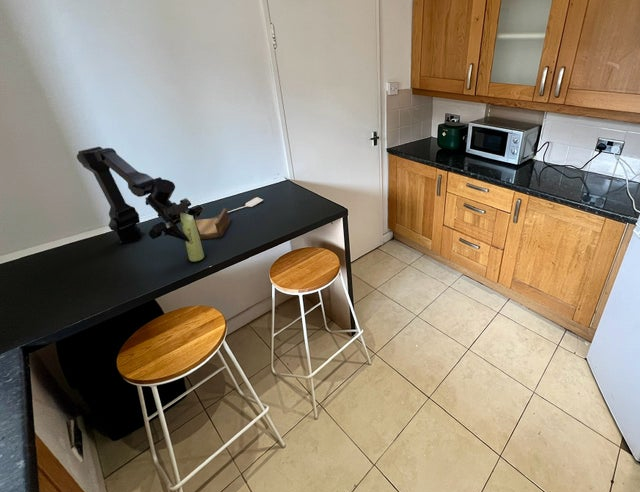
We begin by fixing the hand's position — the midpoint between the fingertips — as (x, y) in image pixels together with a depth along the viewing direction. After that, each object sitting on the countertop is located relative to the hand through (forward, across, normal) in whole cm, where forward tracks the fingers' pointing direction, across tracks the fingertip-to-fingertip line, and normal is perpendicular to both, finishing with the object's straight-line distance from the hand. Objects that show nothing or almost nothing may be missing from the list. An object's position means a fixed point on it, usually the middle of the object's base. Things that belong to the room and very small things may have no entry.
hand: (194, 238), depth 116 cm
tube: (+6, 0, +8) cm, 10 cm away
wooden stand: (-4, +17, +18) cm, 25 cm away
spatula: (-7, +35, +21) cm, 41 cm away
